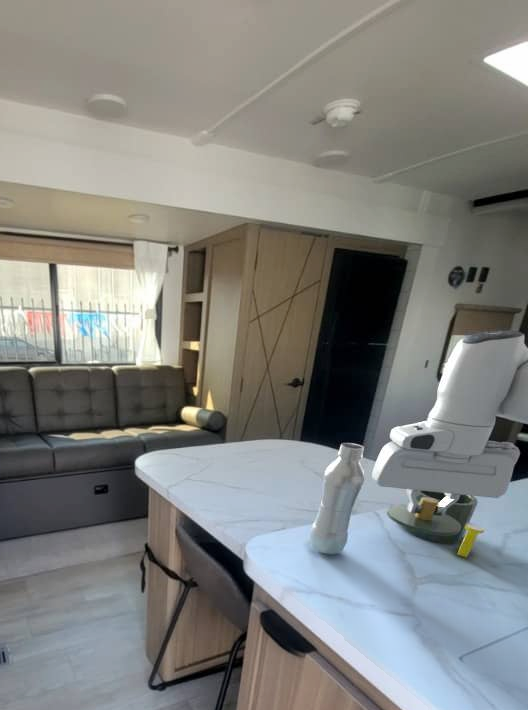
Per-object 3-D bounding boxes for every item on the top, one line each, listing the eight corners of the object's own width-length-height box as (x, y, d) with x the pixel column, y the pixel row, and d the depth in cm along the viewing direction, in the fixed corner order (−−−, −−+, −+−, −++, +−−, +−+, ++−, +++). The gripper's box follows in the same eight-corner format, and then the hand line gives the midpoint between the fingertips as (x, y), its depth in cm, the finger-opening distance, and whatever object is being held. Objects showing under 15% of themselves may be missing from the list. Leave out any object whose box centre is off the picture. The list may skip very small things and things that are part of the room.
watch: (457, 545, 79) (469, 518, 77) (474, 551, 78) (487, 523, 75) (451, 556, 76) (463, 528, 73) (468, 562, 74) (482, 534, 71)
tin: (446, 522, 89) (460, 487, 85) (471, 546, 79) (489, 507, 76) (394, 517, 90) (406, 482, 87) (413, 539, 81) (427, 501, 77)
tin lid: (440, 513, 78) (449, 491, 76) (472, 542, 68) (483, 517, 66) (377, 507, 80) (384, 484, 78) (398, 534, 69) (407, 509, 67)
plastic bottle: (308, 555, 74) (335, 449, 65) (304, 538, 80) (328, 439, 71) (346, 561, 72) (379, 454, 64) (339, 543, 78) (368, 442, 70)
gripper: (511, 438, 68) (478, 512, 74) (381, 428, 71) (360, 499, 77) (537, 449, 62) (499, 528, 68) (394, 437, 66) (370, 513, 71)
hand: (424, 513), depth 73 cm, fingers closed on tin lid, 2 cm apart
